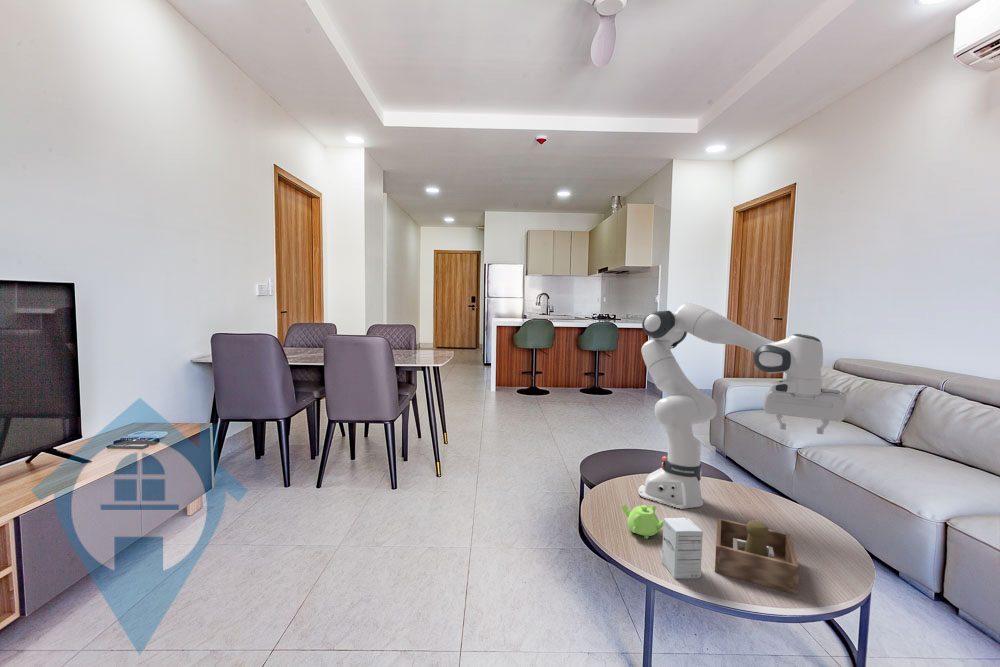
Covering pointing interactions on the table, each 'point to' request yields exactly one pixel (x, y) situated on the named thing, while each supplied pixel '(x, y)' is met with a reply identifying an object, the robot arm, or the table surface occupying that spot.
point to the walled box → (756, 557)
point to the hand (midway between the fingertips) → (800, 431)
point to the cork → (756, 538)
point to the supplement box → (682, 547)
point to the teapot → (643, 520)
